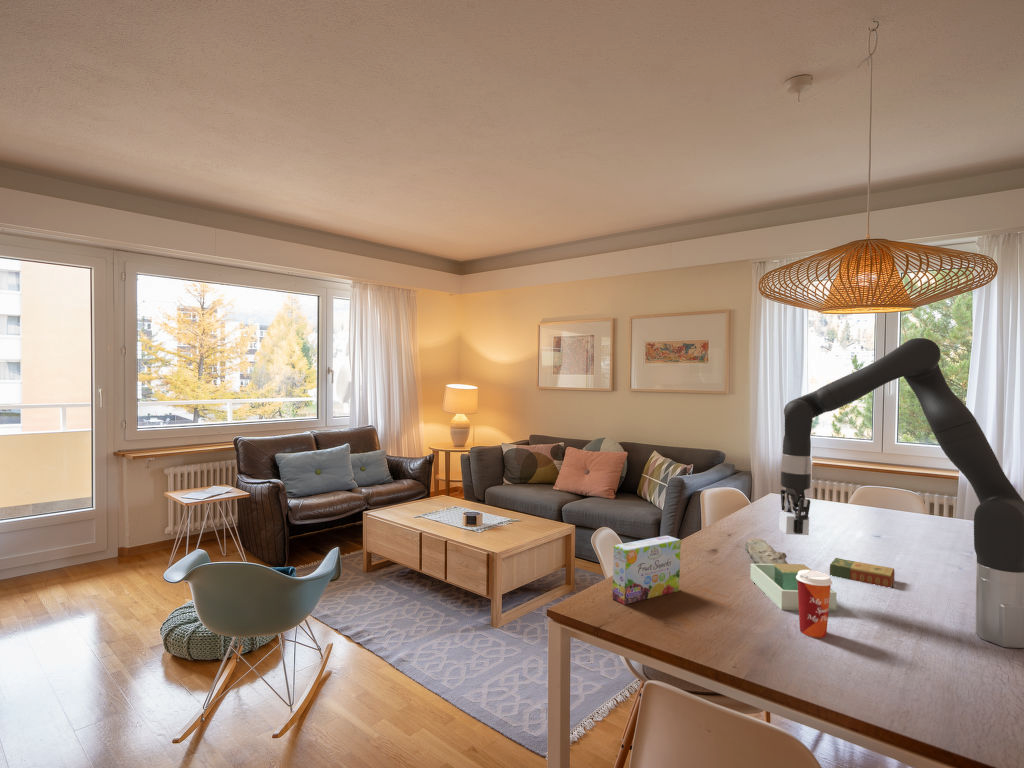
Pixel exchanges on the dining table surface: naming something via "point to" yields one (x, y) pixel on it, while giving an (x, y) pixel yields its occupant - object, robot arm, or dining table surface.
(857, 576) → the carton
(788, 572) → the tea tin
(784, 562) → the long grey stone
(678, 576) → the snack box
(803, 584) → the paper cup
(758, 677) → the dining table surface
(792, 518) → the white block
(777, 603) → the tote
